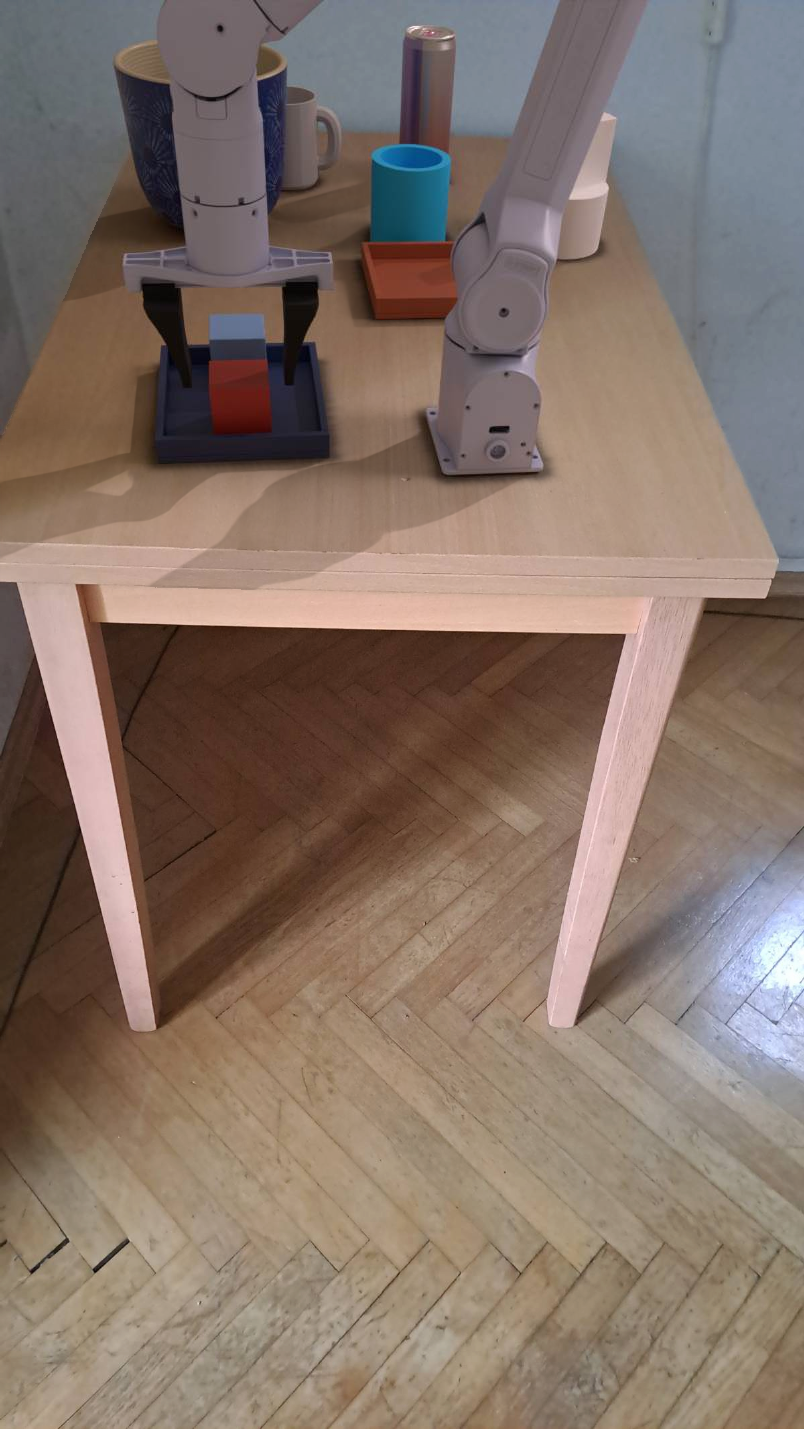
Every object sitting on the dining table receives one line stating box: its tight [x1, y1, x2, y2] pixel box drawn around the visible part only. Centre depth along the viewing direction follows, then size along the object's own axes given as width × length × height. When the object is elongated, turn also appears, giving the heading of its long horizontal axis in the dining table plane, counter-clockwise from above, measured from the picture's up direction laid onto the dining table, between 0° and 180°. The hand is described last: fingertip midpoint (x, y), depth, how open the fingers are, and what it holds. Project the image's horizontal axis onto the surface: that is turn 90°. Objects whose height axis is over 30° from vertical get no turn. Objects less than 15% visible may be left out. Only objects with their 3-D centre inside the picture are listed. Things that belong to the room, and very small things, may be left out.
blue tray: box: [153, 341, 331, 464], centre depth 81 cm, size 15×13×2 cm
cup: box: [281, 85, 343, 191], centre depth 115 cm, size 7×10×9 cm
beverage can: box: [398, 24, 457, 156], centre depth 115 cm, size 6×6×15 cm
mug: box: [369, 143, 452, 242], centre depth 106 cm, size 12×8×8 cm
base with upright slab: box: [557, 111, 618, 260], centre depth 104 cm, size 9×9×12 cm
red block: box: [209, 359, 272, 435], centre depth 77 cm, size 4×4×4 cm
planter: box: [112, 38, 288, 231], centre depth 103 cm, size 17×17×15 cm
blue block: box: [208, 313, 267, 361], centre depth 83 cm, size 4×4×4 cm
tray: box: [360, 240, 458, 320], centre depth 98 cm, size 13×12×2 cm
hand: (238, 380), depth 76 cm, fingers open, 7 cm apart
